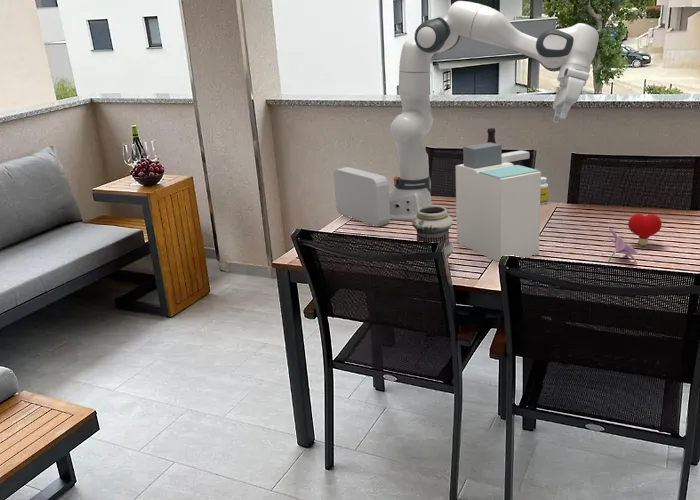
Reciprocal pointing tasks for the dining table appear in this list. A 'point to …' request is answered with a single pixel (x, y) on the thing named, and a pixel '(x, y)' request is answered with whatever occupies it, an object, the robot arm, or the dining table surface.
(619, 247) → the lily
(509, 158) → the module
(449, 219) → the apothecary jar
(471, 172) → the stand
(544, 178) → the supplement bottle
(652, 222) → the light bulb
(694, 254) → the dining table surface
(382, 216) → the rounded white slab
